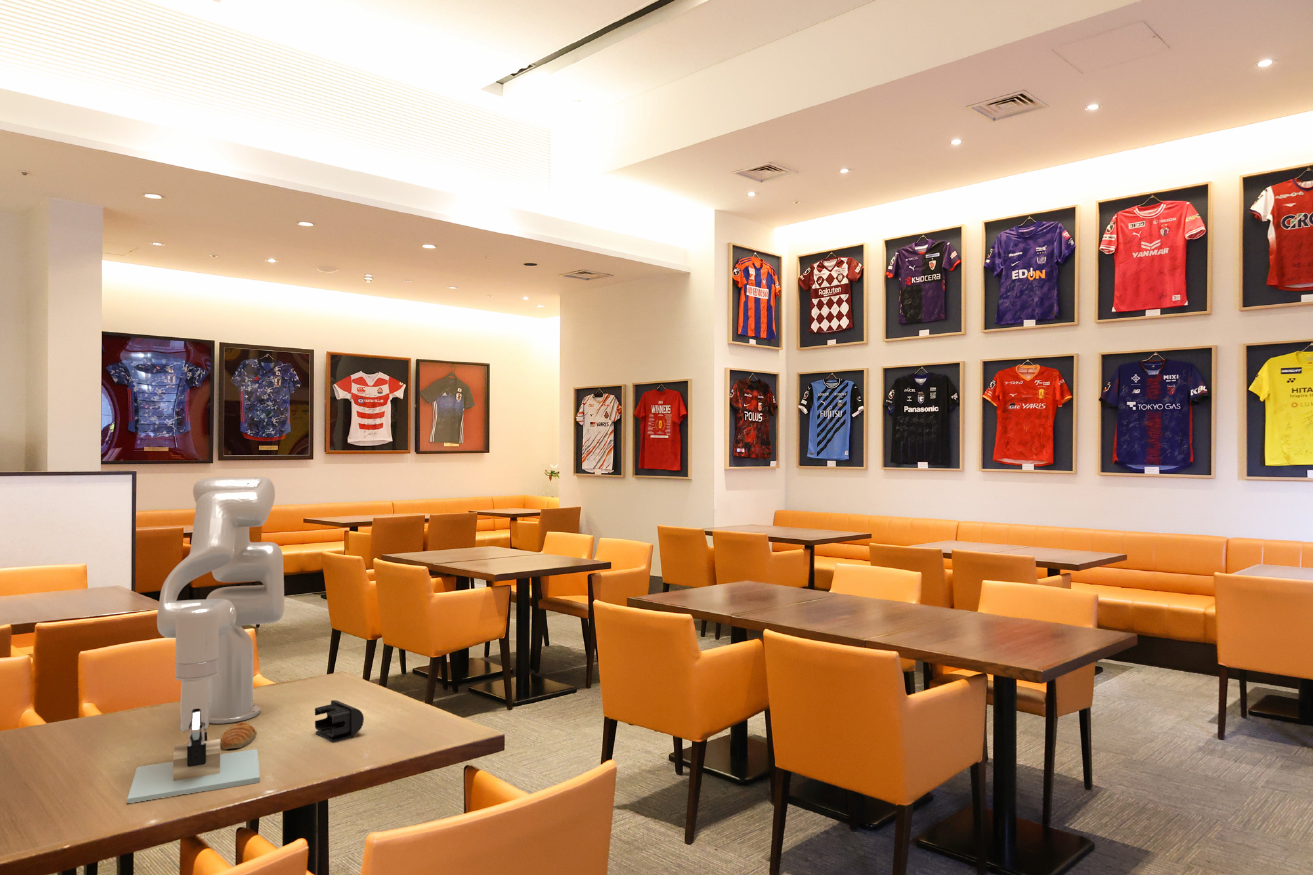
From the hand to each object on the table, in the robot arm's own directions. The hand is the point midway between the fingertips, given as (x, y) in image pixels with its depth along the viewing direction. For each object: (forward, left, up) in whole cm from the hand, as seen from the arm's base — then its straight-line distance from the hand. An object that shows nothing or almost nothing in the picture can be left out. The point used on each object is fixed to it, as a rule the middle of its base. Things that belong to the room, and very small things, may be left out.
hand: (197, 758), depth 168 cm
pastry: (-19, +7, -4) cm, 21 cm away
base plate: (0, 0, -4) cm, 4 cm away
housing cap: (0, 0, -3) cm, 3 cm away
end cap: (-14, +28, -4) cm, 32 cm away
